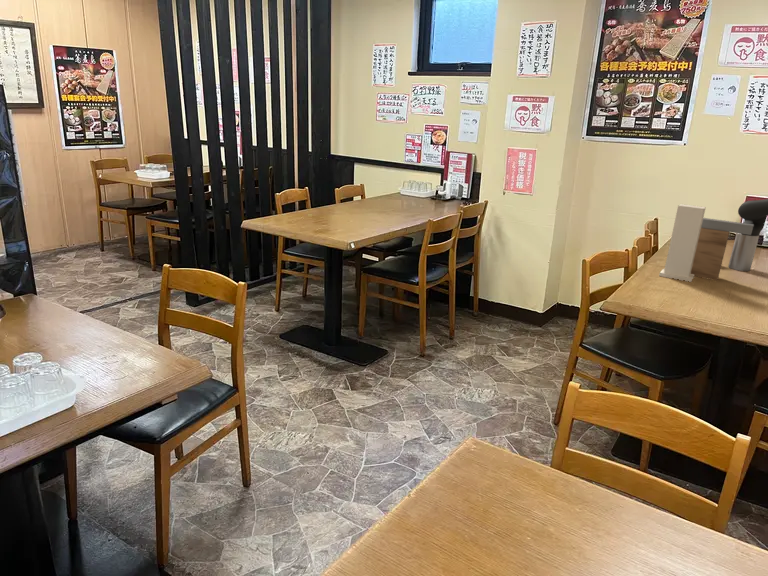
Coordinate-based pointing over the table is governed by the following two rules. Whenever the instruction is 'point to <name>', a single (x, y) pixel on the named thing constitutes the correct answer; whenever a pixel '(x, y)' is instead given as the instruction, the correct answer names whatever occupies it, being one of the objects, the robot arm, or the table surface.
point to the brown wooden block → (709, 253)
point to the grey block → (727, 226)
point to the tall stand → (683, 242)
